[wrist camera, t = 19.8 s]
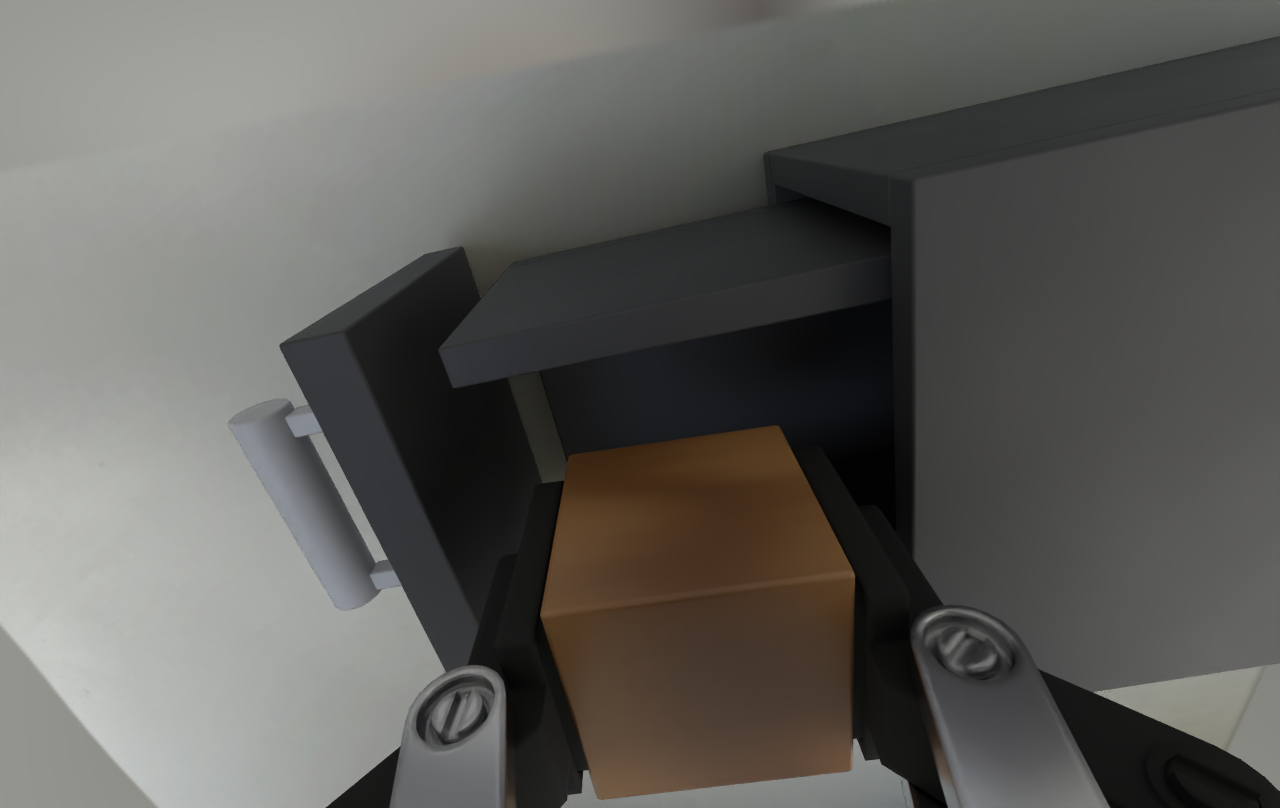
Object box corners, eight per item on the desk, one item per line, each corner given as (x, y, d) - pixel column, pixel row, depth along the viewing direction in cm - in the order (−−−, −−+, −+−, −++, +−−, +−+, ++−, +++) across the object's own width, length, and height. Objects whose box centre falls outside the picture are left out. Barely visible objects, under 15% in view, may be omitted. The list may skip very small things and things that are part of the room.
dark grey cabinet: (797, 482, 21) (913, 721, 13) (762, 152, 17) (911, 178, 8) (1234, 402, 20) (1682, 603, 12) (1336, 23, 15) (2241, -112, 7)
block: (605, 609, 13) (596, 803, 9) (567, 453, 11) (537, 614, 7) (788, 585, 12) (854, 773, 9) (779, 422, 11) (857, 573, 7)
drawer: (415, 554, 21) (313, 761, 14) (285, 284, 17) (45, 394, 10) (924, 460, 20) (1085, 638, 13) (928, 141, 16) (1173, 152, 9)
